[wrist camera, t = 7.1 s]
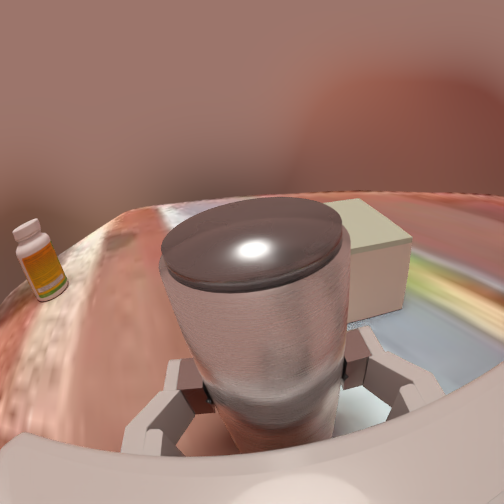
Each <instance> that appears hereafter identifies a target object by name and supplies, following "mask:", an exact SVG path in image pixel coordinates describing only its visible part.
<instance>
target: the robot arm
mask: <svg viewBox="0 0 504 504" xmlns="http://www.w3.org/2000/svg"><path fill="white" fill-rule="evenodd" d="M341 385H342V388H343V390H346V389H350V388H354V387H358V386H362V385H363V387H365V388H366V389H367V390H369V391H370V392H371V393H373V394H374V395H375V396H377V397H378V398H380V399H381V400H382V401H384V402H385V403H386V404H388V405H389V406H391V407H392V409H391V411H390V413H389V415H388V417H387V420H386V422H383V423H380V424H377V425H374V426H371V427H368V428H365V429H362V430H359V431H356V432H352V433H349V434H345V435H342V436H338V437H334V438H331V439H327V440H322V441H318V442H314V443H309V444H304V445H300V446H294V447H289V448H283V449H277V450H271V451H263V452H256V453H247V454H236V455H223V456H199V457H185V455H184V454H183V453H182V452H181V451H180V450H179V449H178V448H177V447H176V446H175V445H176V444H177V442H178V441H179V439H180V438H181V436H182V435H183V433H184V432H185V430H186V429H187V427H188V426H189V424H190V423H191V421H192V420H193V418H194V417H195V415H196V414H207V413H215V404H214V402H213V400H212V398H211V396H210V394H209V392H208V390H207V388H206V386H205V384H204V381H203V379H202V377H201V375H200V373H199V371H198V368H197V366H196V364H195V362H194V359H193V358H186V359H175V360H170V361H169V362H168V367H167V372H166V378H165V383H164V389H163V391H160V392H159V393H158V394H157V395H156V396H155V397H154V398H153V399H152V400H151V401H150V402H149V403H148V404H147V405H146V406H145V407H144V408H143V410H142V411H141V412H140V413H139V414H138V415H137V416H136V417H135V418H134V419H133V420H132V421H131V422H130V423H129V424H128V425H127V426H126V428H125V433H124V438H123V442H122V447H121V453H119V452H112V451H105V450H98V449H93V448H87V447H82V446H77V445H73V444H68V443H64V442H60V441H56V440H52V439H48V438H45V437H41V436H38V435H35V434H32V433H28V432H22V433H20V434H18V435H17V436H16V437H14V438H13V439H12V440H10V441H9V442H8V443H7V444H5V445H4V446H3V447H2V448H1V450H0V504H504V361H503V362H501V363H500V364H498V365H497V366H495V367H494V368H492V369H491V370H489V371H488V372H486V373H485V374H483V375H481V376H480V377H478V378H476V379H475V380H473V381H471V382H470V383H468V384H466V385H464V386H463V387H461V388H459V389H457V390H455V391H453V392H451V393H449V394H448V395H445V393H444V392H443V390H442V388H441V387H440V385H439V383H438V382H437V380H436V378H435V377H434V375H433V374H432V373H430V372H428V371H426V370H424V369H422V368H420V367H418V366H416V365H414V364H412V363H410V362H408V361H406V360H404V359H402V358H400V357H398V356H396V355H395V354H393V353H391V352H389V351H387V352H384V350H383V348H382V346H381V345H380V343H379V341H378V340H377V338H376V336H375V334H374V333H373V331H372V329H371V328H370V326H368V325H367V326H364V327H360V328H357V329H352V330H349V331H347V333H346V344H345V353H344V362H343V371H342V378H341Z"/></svg>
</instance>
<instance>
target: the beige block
mask: <svg viewBox="0 0 504 504" xmlns="http://www.w3.org/2000/svg"><path fill="white" fill-rule="evenodd" d="M323 204H326V205H328V206H330V207H331V208H333V209H334V210H336V211H337V212H338V214H339V215H340V217H341V219H342V225H343V226H344V227H345V228H346V229H347V231H348V233H349V235H350V240H351V256H350V288H349V306H348V321H347V323H350V322H355V321H358V320H362V319H366V318H370V317H374V316H377V315H381V314H385V313H388V312H392V311H395V310H399V309H402V305H403V300H404V295H405V289H406V283H407V277H408V270H409V263H410V255H411V246H412V236H410V235H409V234H408V233H406V232H405V231H404V230H402V229H401V228H400V227H398V226H397V225H396V224H394V223H393V222H392V221H390V220H389V219H388V218H386V217H385V216H384V215H382V214H381V213H379V212H378V211H376V210H375V209H374V208H372V207H371V206H369V205H368V204H366V203H365V202H364V201H362V200H361V199H359V198H357V199H350V200H342V201H335V202H328V203H323Z"/></svg>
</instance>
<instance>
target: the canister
mask: <svg viewBox="0 0 504 504" xmlns="http://www.w3.org/2000/svg"><path fill="white" fill-rule="evenodd" d="M161 251H162V256H161V258H160V261H159V272H160V275H161V278H162V281H163V284H164V286H165V289H166V292H167V295H168V297H169V300H170V303H171V305H172V308H173V311H174V313H175V316H176V318H177V321H178V323H179V326H180V328H181V331H182V333H183V336H184V338H185V341H186V343H187V345H188V348H189V350H190V352H191V355H192V357H193V359H194V362H195V364H196V366H197V368H198V371H199V373H200V375H201V377H202V379H203V381H204V384H205V386H206V388H207V390H208V392H209V394H210V396H211V398H212V400H213V402H214V404H215V406H216V408H217V410H218V412H219V414H220V416H221V418H222V420H223V422H224V424H225V426H226V428H227V430H228V432H229V433H230V435H231V437H232V439H233V441H234V443H235V445H236V446H237V448H238V450H239V452H240V453H241V454H247V453H256V452H263V451H271V450H277V449H283V448H289V447H294V446H300V445H304V444H309V443H314V442H318V441H322V440H327V439H331V438H332V434H333V429H334V423H335V418H336V412H337V406H338V399H339V393H340V386H341V378H342V371H343V362H344V353H345V344H346V333H347V321H348V306H349V288H350V256H351V240H350V235H349V233H348V231H347V229H346V228H345V227H344V226H343V225H342V219H341V217H340V215H339V214H338V212H337V211H336V210H334V209H333V208H331V207H330V206H328V205H326V204H323V203H320V202H317V201H313V200H308V199H302V198H292V197H269V198H257V199H250V200H243V201H238V202H233V203H229V204H225V205H222V206H218V207H215V208H212V209H209V210H206V211H204V212H201V213H199V214H197V215H194V216H192V217H190V218H189V219H187V220H185V221H183V222H182V223H180V224H179V225H177V226H176V227H175V228H173V229H172V230H171V231H170V232H169V233H168V234H167V235H166V237H165V238H164V240H163V242H162V245H161Z"/></svg>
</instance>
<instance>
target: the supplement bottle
mask: <svg viewBox="0 0 504 504" xmlns="http://www.w3.org/2000/svg"><path fill="white" fill-rule="evenodd" d="M40 229H41V227H40V224H39V221H38V219H33V220H31V221H29V222H26V223H25V224H23V225H21V226H19V227H18V228H16V229H15V230H14V231H13V235H14V237H15V240H16V241H17V242H18V243H19V246H18V248H17V250H16V255H17V257H18V260H19V262H20V265H21V267H22V269H23V271H24V274H25V276H26V278H27V280H28V282H29V284H30V286H31V288H32V290H33V292H34V294H35V296H36V298H37V299H38V300H39V301H47V300H50V299H53V298H55V297H56V296H58V295H59V294H61V293H62V292H63V291H64V290H65V288H66V287H67V285H68V280H67V278H66V276H65V273H64V271H63V269H62V267H61V264H60V262H59V260H58V257H57V255H56V253H55V250H54V248H53V245H52V243H51V240H50V238H49V236H48V235H47V234H46V233H41V232H40Z"/></svg>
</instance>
